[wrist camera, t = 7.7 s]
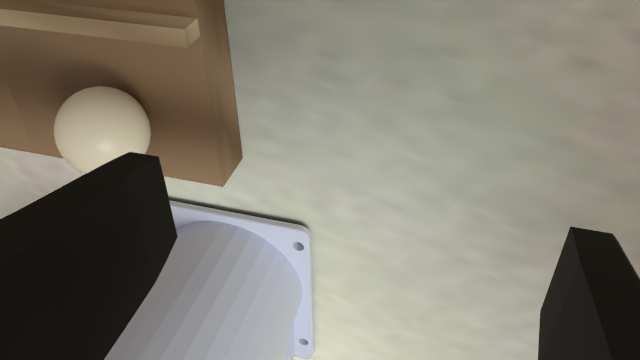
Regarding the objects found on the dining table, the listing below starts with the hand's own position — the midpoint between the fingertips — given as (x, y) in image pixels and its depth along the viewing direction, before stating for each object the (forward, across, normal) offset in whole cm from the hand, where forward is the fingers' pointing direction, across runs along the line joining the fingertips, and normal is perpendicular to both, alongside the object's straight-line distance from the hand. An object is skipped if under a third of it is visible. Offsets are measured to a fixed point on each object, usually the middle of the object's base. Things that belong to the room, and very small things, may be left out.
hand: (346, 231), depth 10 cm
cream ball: (+7, +10, +4) cm, 13 cm away
